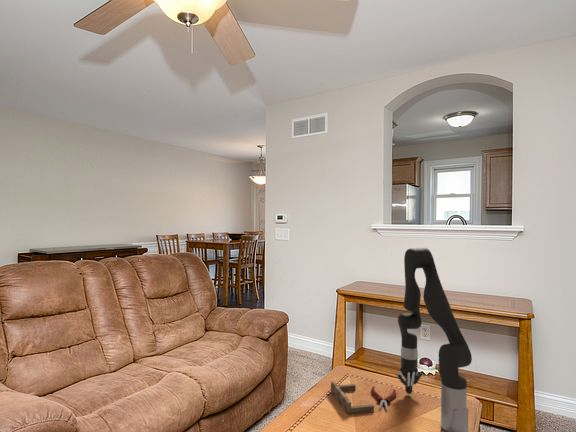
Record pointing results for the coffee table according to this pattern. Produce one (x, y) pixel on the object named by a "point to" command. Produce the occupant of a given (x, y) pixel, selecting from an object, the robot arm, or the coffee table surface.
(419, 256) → the robot arm
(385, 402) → the pliers
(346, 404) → the tool rest
